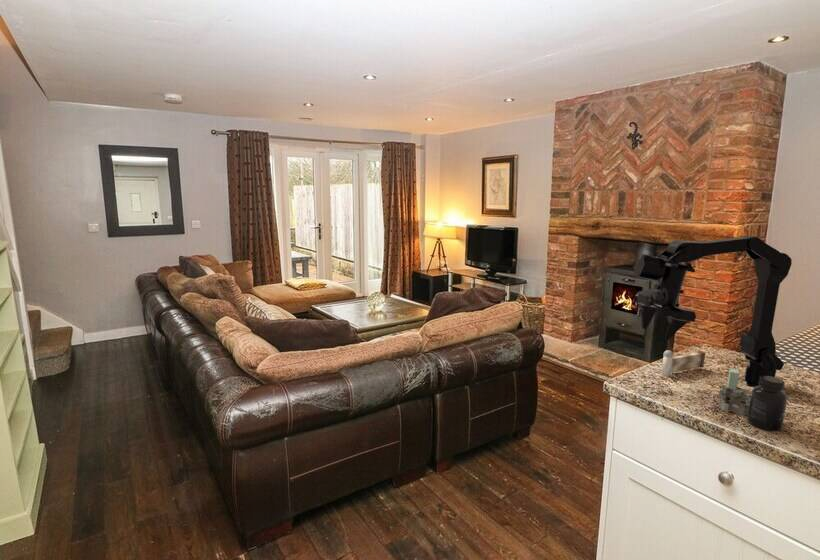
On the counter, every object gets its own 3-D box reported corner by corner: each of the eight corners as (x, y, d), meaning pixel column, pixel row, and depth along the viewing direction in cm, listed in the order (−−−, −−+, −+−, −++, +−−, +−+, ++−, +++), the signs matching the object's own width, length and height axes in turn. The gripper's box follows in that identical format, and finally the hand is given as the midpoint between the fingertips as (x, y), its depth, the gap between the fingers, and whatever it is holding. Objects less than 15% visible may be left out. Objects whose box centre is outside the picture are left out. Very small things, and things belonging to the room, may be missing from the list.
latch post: (735, 386, 136) (738, 369, 135) (736, 390, 133) (738, 373, 132) (727, 384, 137) (730, 368, 136) (727, 388, 134) (730, 371, 133)
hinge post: (670, 374, 144) (673, 350, 143) (670, 376, 142) (673, 352, 140) (661, 372, 145) (664, 348, 144) (660, 375, 143) (663, 350, 142)
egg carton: (749, 418, 117) (751, 403, 116) (714, 409, 122) (716, 395, 121) (753, 404, 125) (755, 390, 124) (720, 396, 129) (722, 382, 129)
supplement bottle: (788, 433, 109) (797, 386, 107) (755, 430, 110) (763, 383, 108) (772, 420, 116) (780, 375, 113) (741, 417, 117) (748, 372, 115)
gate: (672, 373, 143) (674, 357, 142) (667, 370, 145) (669, 355, 144) (703, 367, 149) (705, 352, 148) (698, 365, 150) (700, 350, 149)
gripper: (626, 272, 141) (612, 320, 144) (672, 288, 123) (654, 342, 126) (656, 277, 143) (641, 324, 146) (705, 293, 126) (687, 346, 129)
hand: (654, 333), depth 137 cm, fingers open, 9 cm apart
